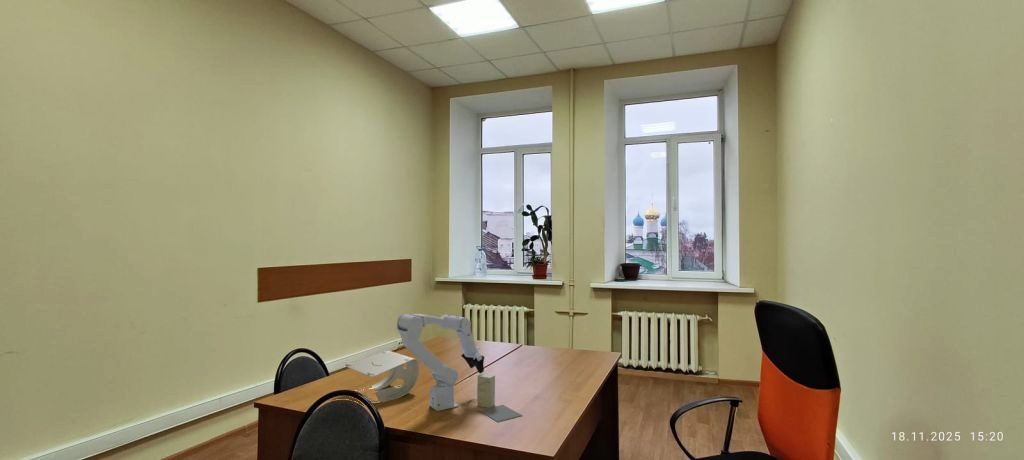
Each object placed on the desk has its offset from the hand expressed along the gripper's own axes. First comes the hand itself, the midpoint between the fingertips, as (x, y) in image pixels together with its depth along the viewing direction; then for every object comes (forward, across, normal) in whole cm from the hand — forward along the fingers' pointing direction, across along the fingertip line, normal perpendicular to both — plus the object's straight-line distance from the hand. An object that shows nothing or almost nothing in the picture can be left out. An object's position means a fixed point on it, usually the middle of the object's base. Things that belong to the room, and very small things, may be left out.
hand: (477, 369), depth 200 cm
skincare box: (+8, -14, +7) cm, 17 cm away
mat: (+7, -24, +6) cm, 26 cm away
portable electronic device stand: (0, +28, +35) cm, 45 cm away
